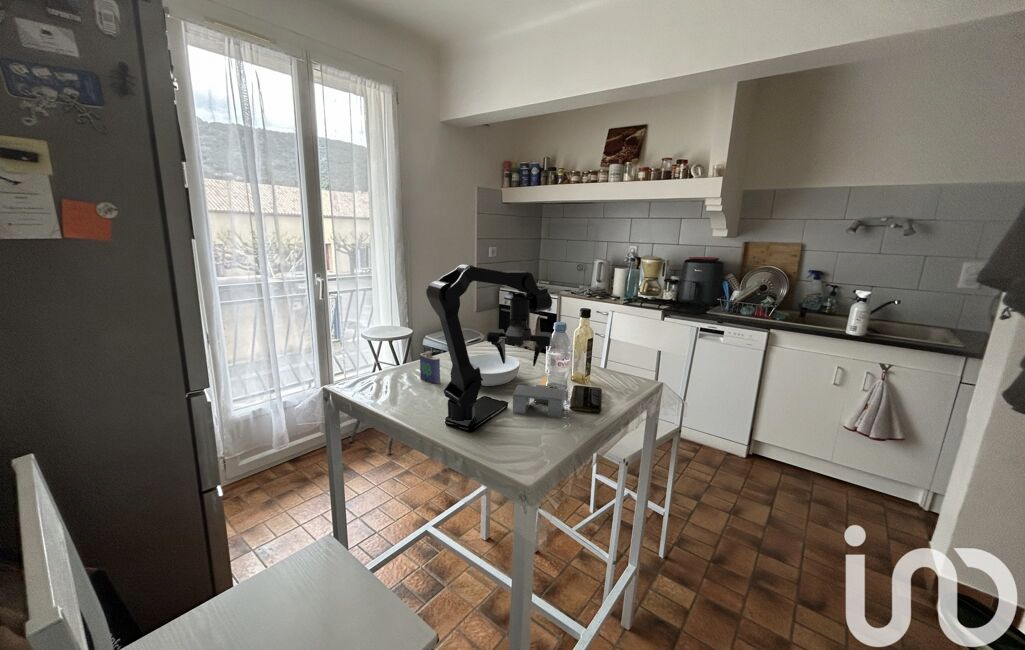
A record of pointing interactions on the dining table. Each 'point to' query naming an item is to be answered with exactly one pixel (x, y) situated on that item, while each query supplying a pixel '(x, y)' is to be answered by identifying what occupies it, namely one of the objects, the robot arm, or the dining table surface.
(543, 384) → the plug
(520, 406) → the grey arch block
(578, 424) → the dining table surface
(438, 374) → the flask
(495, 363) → the serving bowl
